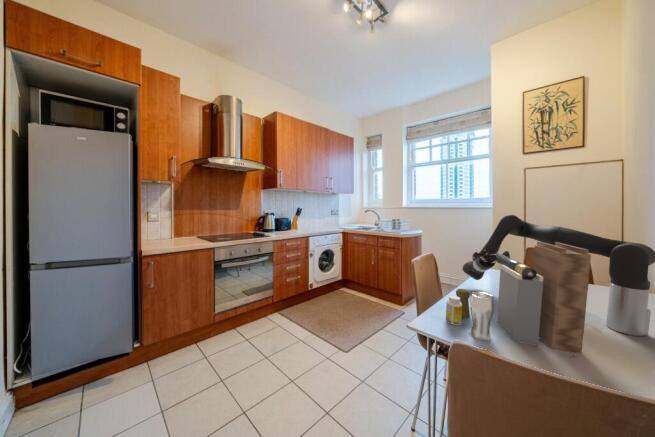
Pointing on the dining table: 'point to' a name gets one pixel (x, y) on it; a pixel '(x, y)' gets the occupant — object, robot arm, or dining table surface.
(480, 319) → the beer glass
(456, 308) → the supplement bottle
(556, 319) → the tall stand
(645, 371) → the dining table surface
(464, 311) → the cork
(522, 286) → the grey magazine holder
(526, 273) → the black gold-banded rod
